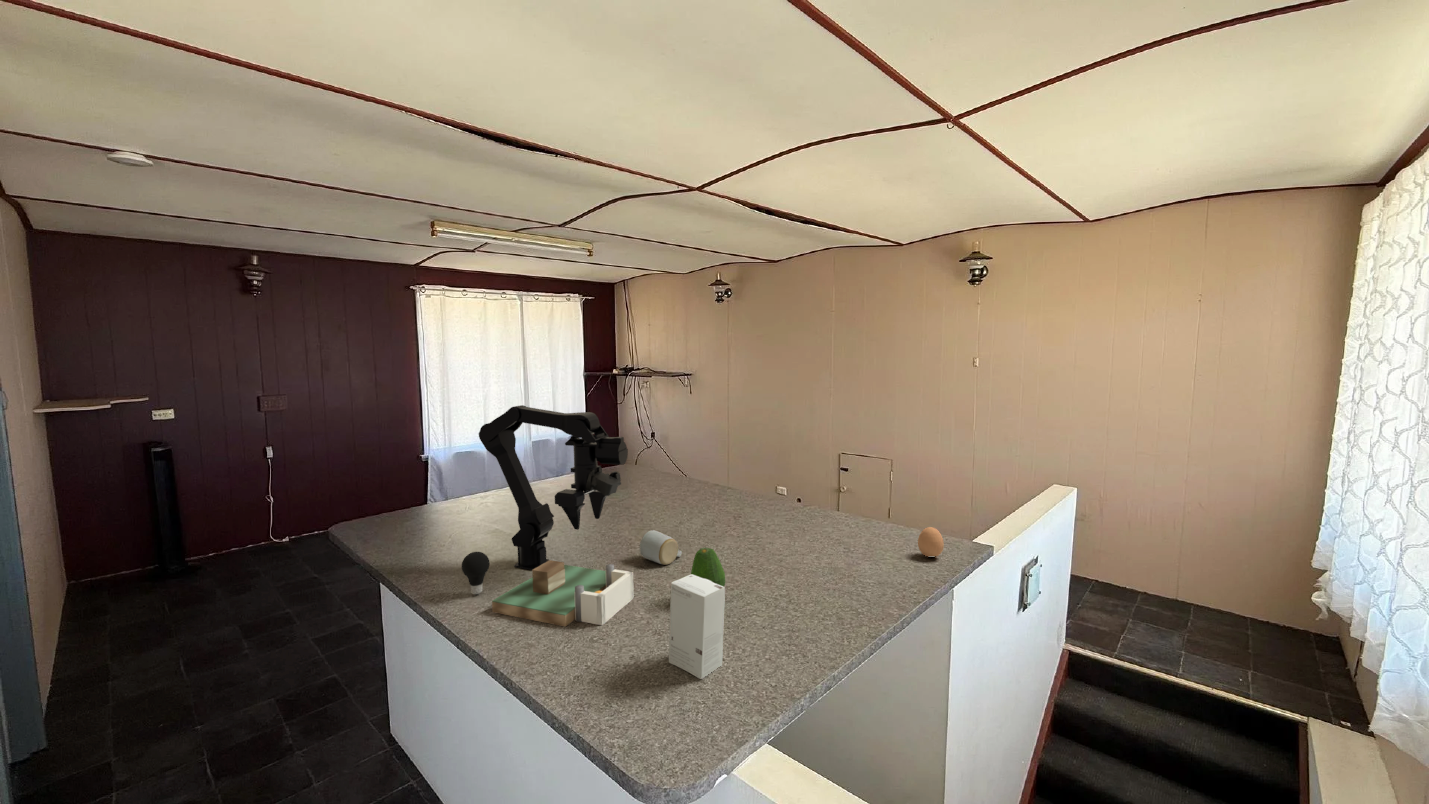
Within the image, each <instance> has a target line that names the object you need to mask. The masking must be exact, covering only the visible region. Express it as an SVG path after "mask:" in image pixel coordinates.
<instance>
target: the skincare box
mask: <svg viewBox="0 0 1429 804" xmlns="http://www.w3.org/2000/svg"><path fill="white" fill-rule="evenodd" d="M670 584H671V585H670V606H669V607H670V609H669V636H668V639H669V640H668V663H669V664H671V665H673V666H676V667H678V668H680V669H681V670H684V671H686V672H687V673H690V674H691V675H693V676H695V677H696V678H697V679H699V680H703V679H704V678H706V677H708V676H709V675H710V674H712V673H714V672H715V671H717V670H718V669H719V668H718V667H720V666H721V667H722V666H723V654H724V653H723V652H724V650H723V649H724V647H723V646H724V627H725V626H724V624H725V623H724V622H725V621H724V620H725V602H726V601H725V599H726V598H725V597H726V587H723V586H721V585H718V584H716V583H713V582H712V581H710V580H708V579H704V578H701V577H698V576H695V575H693V574H691V573H690V574H688V575H686V576H684V577H681V578H679V579H676V580H673V581H672V582H670ZM721 667H720V668H721ZM717 668H718V669H717ZM716 669H717V670H716ZM714 670H715V671H714ZM713 671H714V672H713ZM711 672H712V673H711ZM708 674H709V675H708ZM705 676H706V677H705Z"/></svg>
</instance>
